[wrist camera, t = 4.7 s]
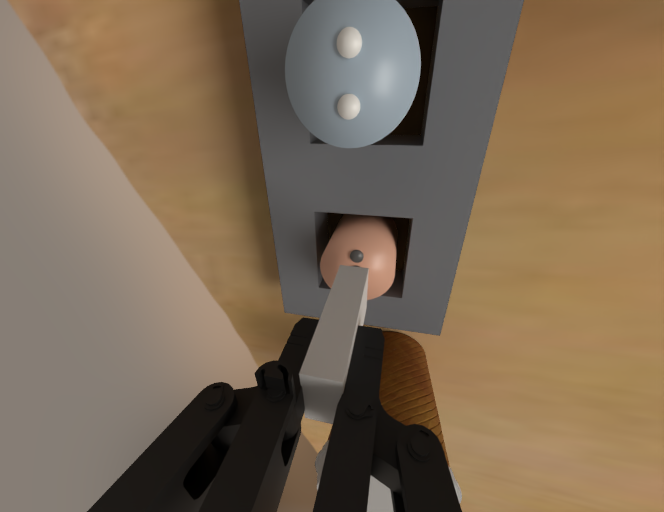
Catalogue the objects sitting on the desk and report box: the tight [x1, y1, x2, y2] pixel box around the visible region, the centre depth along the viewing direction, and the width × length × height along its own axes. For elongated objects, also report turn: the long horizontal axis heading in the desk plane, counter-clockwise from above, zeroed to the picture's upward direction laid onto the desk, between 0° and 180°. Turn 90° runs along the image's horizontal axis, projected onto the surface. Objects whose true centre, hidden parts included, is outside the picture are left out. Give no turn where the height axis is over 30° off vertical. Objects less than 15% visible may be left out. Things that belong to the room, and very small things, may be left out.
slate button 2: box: [285, 0, 421, 148], centre depth 12 cm, size 5×5×5 cm
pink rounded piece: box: [320, 214, 398, 300], centre depth 19 cm, size 5×5×5 cm
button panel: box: [239, 0, 524, 336], centre depth 15 cm, size 32×12×4 cm, turn 1°
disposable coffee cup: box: [315, 332, 462, 512], centre depth 23 cm, size 10×10×12 cm
